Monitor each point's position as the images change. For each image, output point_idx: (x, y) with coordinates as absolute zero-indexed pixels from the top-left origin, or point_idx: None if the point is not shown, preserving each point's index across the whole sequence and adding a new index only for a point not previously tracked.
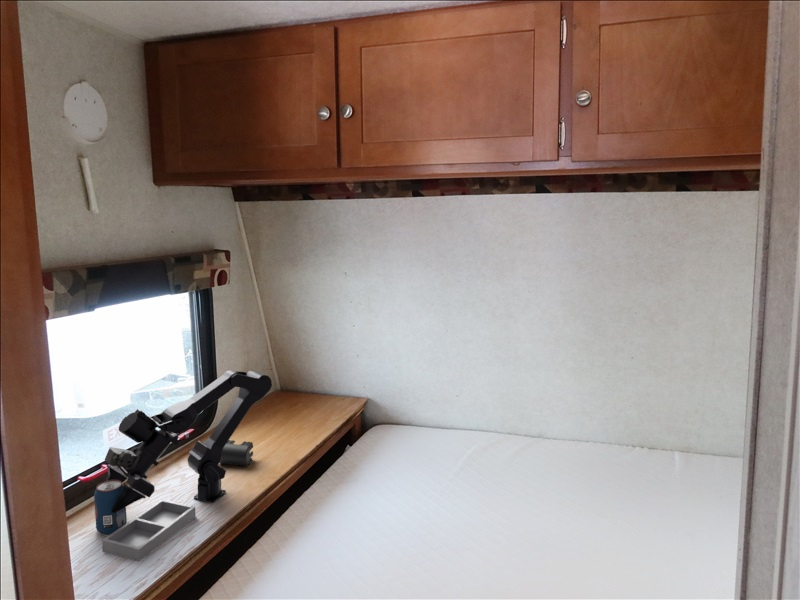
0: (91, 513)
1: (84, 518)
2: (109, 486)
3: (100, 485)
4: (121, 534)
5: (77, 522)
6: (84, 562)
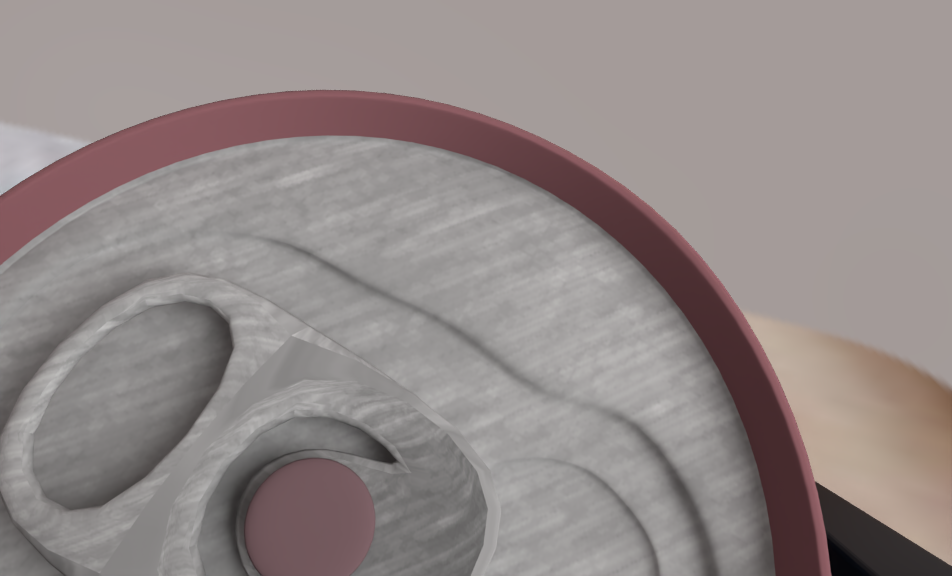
0: (913, 522)
1: (834, 425)
2: (264, 510)
3: (616, 298)
4: None
5: (785, 345)
6: (30, 171)
